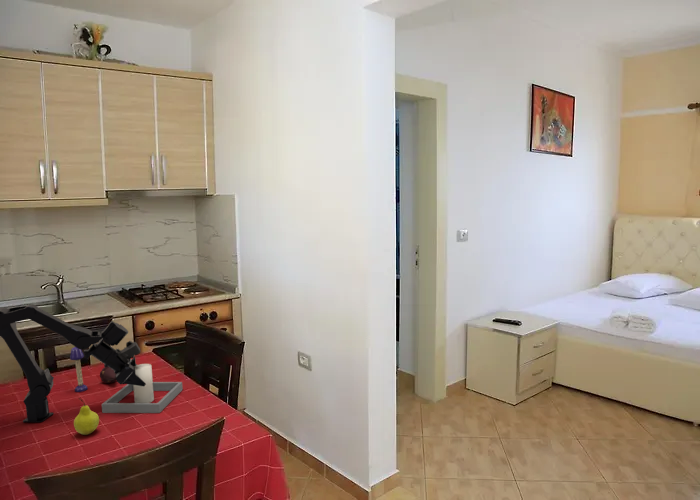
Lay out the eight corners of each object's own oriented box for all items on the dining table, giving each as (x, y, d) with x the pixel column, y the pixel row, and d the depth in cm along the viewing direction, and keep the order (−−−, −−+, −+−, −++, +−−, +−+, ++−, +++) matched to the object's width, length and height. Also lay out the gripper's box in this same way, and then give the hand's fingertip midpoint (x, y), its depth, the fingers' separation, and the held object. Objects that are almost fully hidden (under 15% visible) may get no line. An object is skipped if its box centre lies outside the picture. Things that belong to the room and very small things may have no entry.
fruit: (94, 426, 166) (90, 390, 165) (104, 432, 162) (100, 395, 161) (71, 434, 161) (67, 397, 160) (81, 440, 157) (77, 402, 155)
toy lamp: (83, 392, 194) (79, 349, 192) (70, 392, 195) (66, 349, 192) (89, 387, 199) (85, 345, 197) (77, 387, 199) (73, 345, 197)
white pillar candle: (149, 404, 182) (146, 370, 180) (131, 404, 182) (128, 370, 181) (157, 397, 188) (154, 363, 187) (139, 397, 189) (137, 363, 187)
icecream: (125, 368, 200) (117, 362, 213) (104, 368, 196) (97, 361, 208) (122, 387, 200) (114, 379, 212) (101, 386, 196) (94, 379, 208)
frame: (159, 412, 175) (158, 404, 174) (102, 412, 176) (101, 404, 176) (182, 389, 195) (182, 382, 194) (130, 389, 196) (130, 382, 196)
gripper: (123, 344, 172) (161, 371, 178) (125, 330, 189) (159, 355, 195) (99, 371, 170) (138, 397, 176) (103, 354, 187) (138, 378, 193)
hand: (144, 380), depth 185 cm, fingers open, 9 cm apart
